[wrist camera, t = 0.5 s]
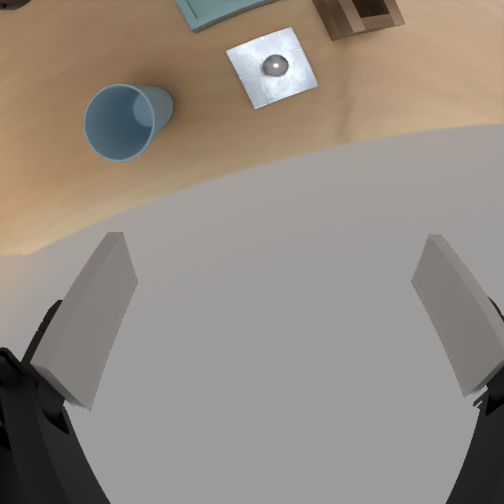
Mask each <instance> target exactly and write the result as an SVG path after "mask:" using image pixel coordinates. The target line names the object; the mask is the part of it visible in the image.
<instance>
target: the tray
mask: <svg viewBox="0 0 504 504" xmlns="http://www.w3.org/2000/svg"><path fill="white" fill-rule="evenodd" d="M274 1H278V0H175V2H176V3H177V5H178V7H179V8H180V10H181V12H182V14H183V15H184V17H185V19H186V20H187V22H188V24H189V26H190V27H191V29H192V30H193V31H194V32H199V31H201V30H203V29H205V28H207V27H209V26H211V25H213V24H216V23H218V22H220V21H223V20H225V19H227V18H230V17H232V16H235V15H237V14H240V13H242V12H245V11H248V10H250V9H253V8H256V7H259V6H262V5H265V4H268V3H271V2H274Z"/></svg>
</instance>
